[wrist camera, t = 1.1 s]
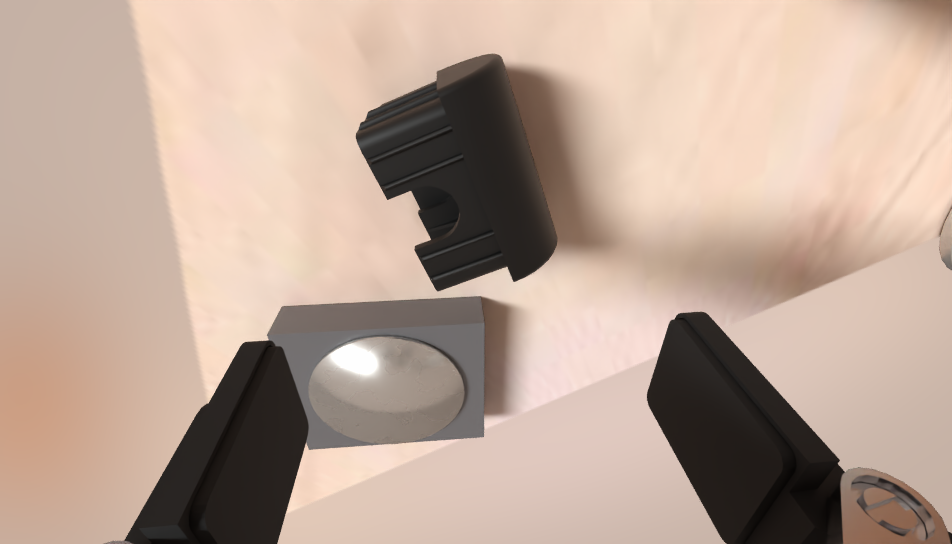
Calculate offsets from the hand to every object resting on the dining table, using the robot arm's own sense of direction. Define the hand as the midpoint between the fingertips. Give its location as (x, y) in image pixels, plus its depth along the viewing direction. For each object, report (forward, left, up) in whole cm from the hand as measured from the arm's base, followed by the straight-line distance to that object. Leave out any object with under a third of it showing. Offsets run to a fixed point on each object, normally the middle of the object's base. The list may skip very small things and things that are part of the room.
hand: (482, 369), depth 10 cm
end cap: (0, 0, -17) cm, 17 cm away
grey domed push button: (+6, +16, -17) cm, 24 cm away
